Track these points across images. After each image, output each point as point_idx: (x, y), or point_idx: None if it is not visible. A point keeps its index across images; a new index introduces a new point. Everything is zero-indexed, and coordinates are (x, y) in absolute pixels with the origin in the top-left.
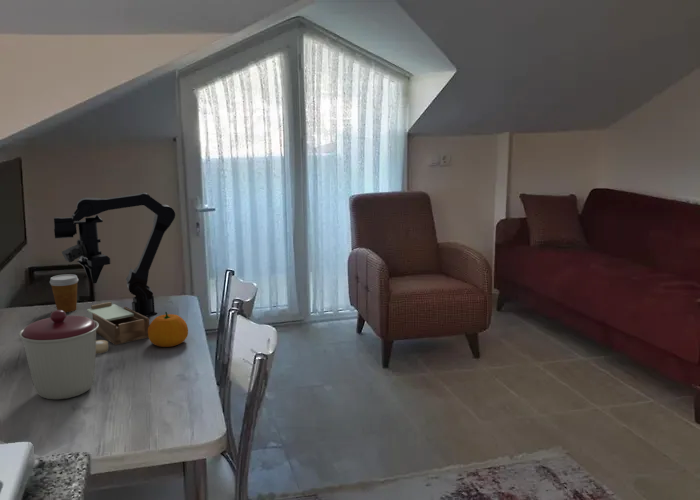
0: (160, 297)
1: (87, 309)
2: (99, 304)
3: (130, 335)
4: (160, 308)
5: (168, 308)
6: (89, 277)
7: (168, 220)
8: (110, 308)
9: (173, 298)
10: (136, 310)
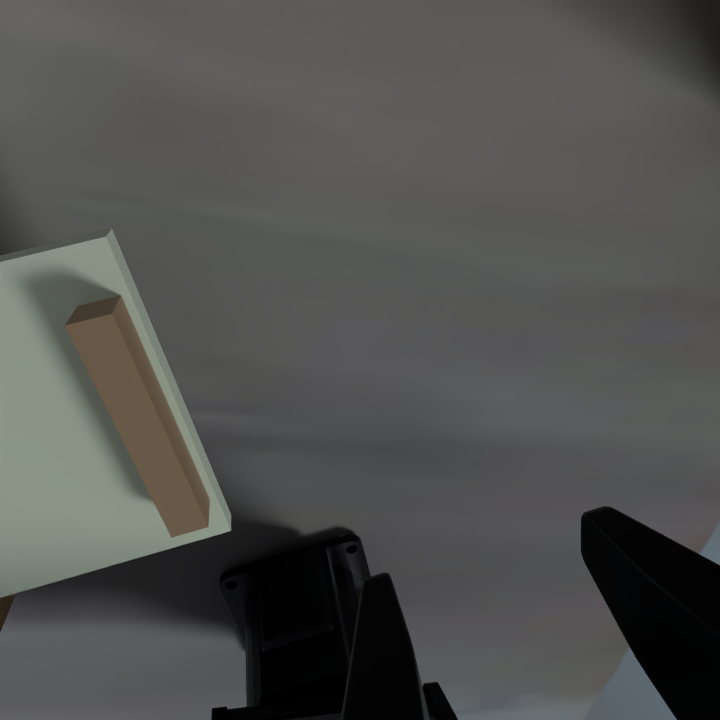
0: (618, 662)
1: (97, 242)
2: (124, 416)
3: None
4: None
5: None
6: (642, 596)
7: None
8: (38, 495)
9: (549, 711)
10: (259, 599)
